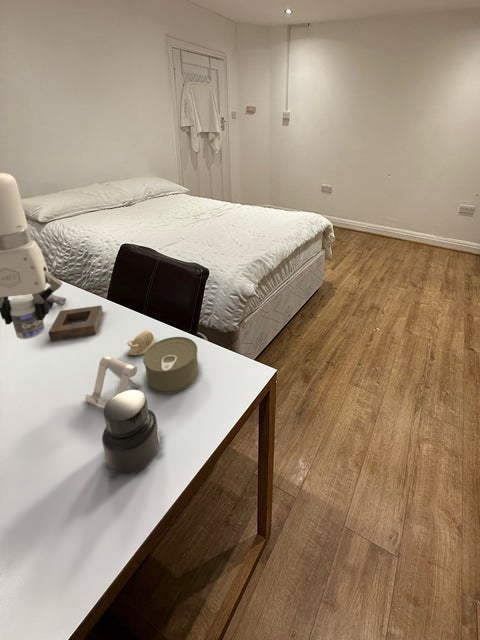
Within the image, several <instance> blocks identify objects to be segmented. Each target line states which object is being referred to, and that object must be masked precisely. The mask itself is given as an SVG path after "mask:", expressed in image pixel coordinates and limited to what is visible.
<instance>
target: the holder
mask: <svg viewBox="0 0 480 640" xmlns="http://www.w3.org/2000/svg"><path fill="white" fill-rule="evenodd" d="M103 315H104V311H103V306H102V305H94V306H87V307H86V306H85V307H78V308H70V309H63V310H60V311H59V312H58V314H57V315H56V317H55V319H54V322H53V323H52V325H51V327H50V328H49V330H48V336H49V339H50V342H56V341H61V340H63V341H64V340H68V339H69V340H70V339H75V338H81V337H82V338H83V337H88V336H93V335H97V332H98V330H99V327H100V323H101V321H102V318H103ZM81 321H83V322H81ZM84 321H86V322H84ZM74 322H78V323H74ZM70 323H72V324H70Z"/></svg>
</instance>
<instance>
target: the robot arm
mask: <svg viewBox="0 0 480 640" xmlns="http://www.w3.org/2000/svg"><path fill="white" fill-rule="evenodd" d="M30 233H31V232H30V230H29V226H28V221H27V218H26V214H25V210H24V206H23V202H22V198H21V193H20V190H19V187H18V182H17V180H16V178H15V177H14V176H13V175H11V174H9V173H7V172H0V317H1V319H2V320H4V323H5V325H11V324H13V321H12V318H11V315H10V311H11V306H10V301H11V300H12V299H9V297H18V296H22V295H32V296H33V297H34V299H35V300H36V304H35V310H36V314H37V317H38V320H43V321H44V319H45V317H46V316H47V315H48V314H49V313H50V309H49V307H48V303H47V300H46V299H47V298H48V297H49V296H50V295H51V294H53V293H55V292H56V291H57V290H59V289H60V288H61V287H62V285H63V282H62V281H61V280H60V279H58V278H57V277H56V276H55V275H52V274H51V273H50V272H49V269H48V266H47V263H46V260H45V257H44V255H43V253H42V251H41V249H40V247H39V244H37V242H36V240H32V237H31V234H30ZM46 284H48V285H50V286H48V287H47V288H46Z"/></svg>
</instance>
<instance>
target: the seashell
mask: <svg viewBox="0 0 480 640" xmlns="http://www.w3.org/2000/svg"><path fill="white" fill-rule="evenodd" d="M46 300H47V303H48V307H49V310H51V309H52V308H53V306H54V304H56V305H60V306H65V304H66V301H67V298H66V297H62V296H58V295H55V294H53V293H52V294H51V295H50V296H49V297H48V298H47V299H46Z"/></svg>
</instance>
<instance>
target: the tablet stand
mask: <svg viewBox="0 0 480 640" xmlns="http://www.w3.org/2000/svg"><path fill="white" fill-rule="evenodd" d="M107 370H109V371H110V372H111V373H112V374H114V376H116V377H117V378H118V379H119V385H118V390H117V394H119V393H122V392H124V391H128V385H129V384H130V385H131V386H132V387H134V388H136V389H138V388H139V385H137V384H136V383H135V382H134V381H133V380H132V379H131V378H133V377H134V376H136V374H137V372H138V368H137V367H136V366H134V365H131V364H129V363H126V362H124V361H122V360H119V359H117V358H115V357H113V356H112V357H111V356H110V355H104V356H102V358H101V359H100V360H99V364H98V370H97V373H96V378H95V384H94V388H93V391H92V395H89V394H85V401H86V402H87V403H90V404H92V405H94V406H95V407H98V408H100V409H102V410H104V408H105V405H106V404H107V403H108V402H109V400H106V399H104V398H101V396H102V391H103V386H104V382H105V377H106V372H107Z"/></svg>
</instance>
